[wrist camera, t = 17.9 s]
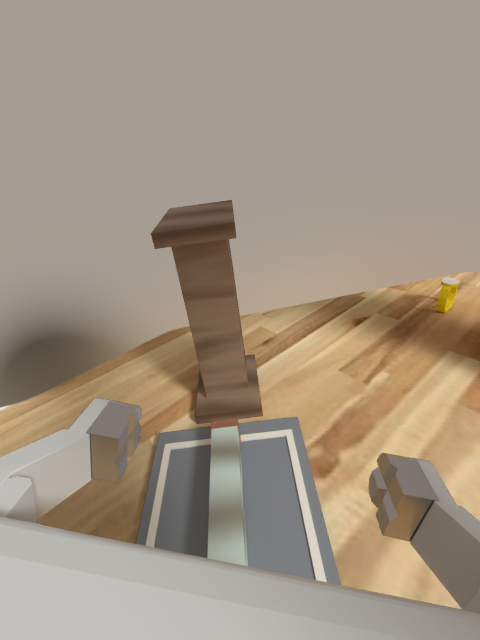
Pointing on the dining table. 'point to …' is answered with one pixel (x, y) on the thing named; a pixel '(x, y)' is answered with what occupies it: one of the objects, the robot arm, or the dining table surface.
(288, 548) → the mat
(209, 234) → the stand
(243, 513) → the grey green bar
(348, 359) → the dining table surface
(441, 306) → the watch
